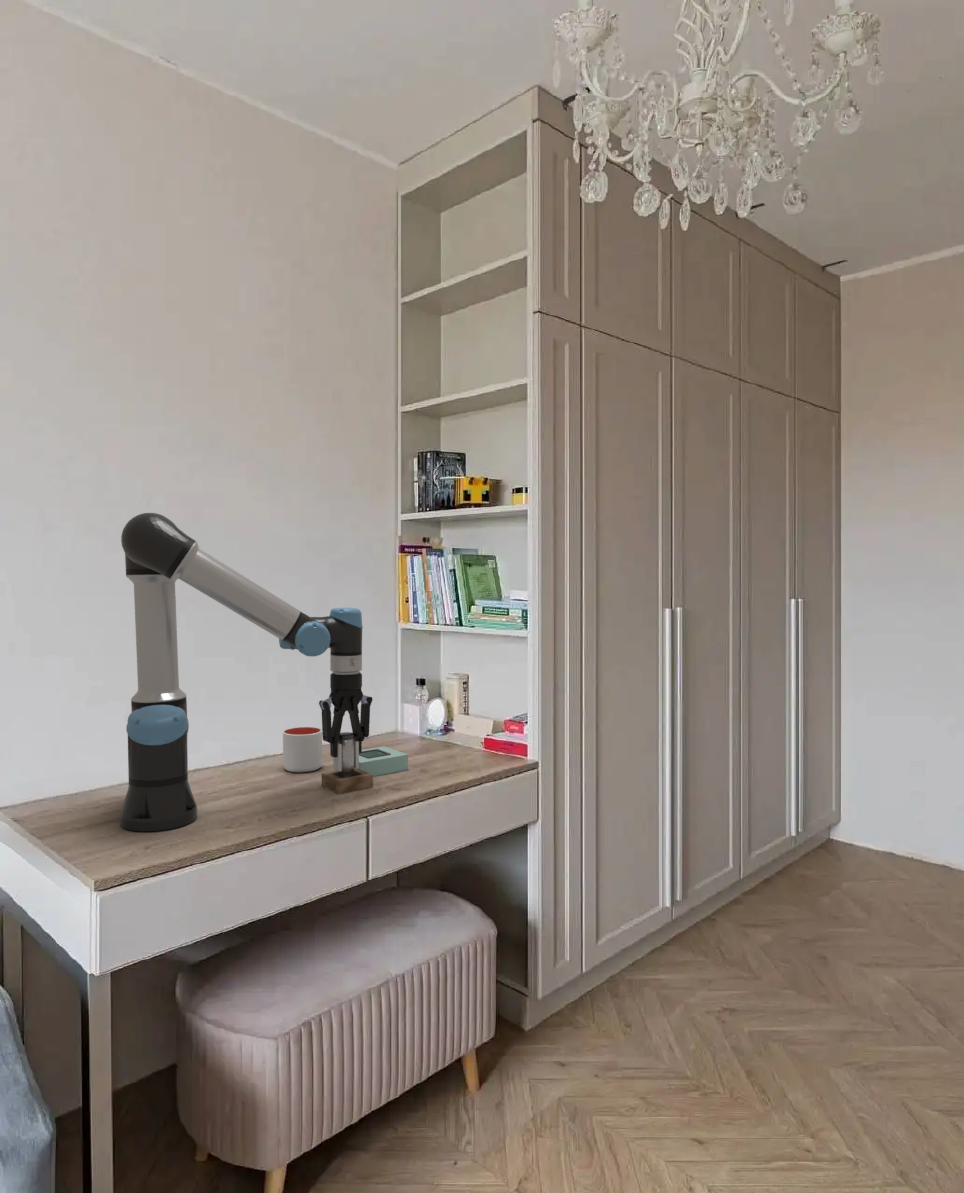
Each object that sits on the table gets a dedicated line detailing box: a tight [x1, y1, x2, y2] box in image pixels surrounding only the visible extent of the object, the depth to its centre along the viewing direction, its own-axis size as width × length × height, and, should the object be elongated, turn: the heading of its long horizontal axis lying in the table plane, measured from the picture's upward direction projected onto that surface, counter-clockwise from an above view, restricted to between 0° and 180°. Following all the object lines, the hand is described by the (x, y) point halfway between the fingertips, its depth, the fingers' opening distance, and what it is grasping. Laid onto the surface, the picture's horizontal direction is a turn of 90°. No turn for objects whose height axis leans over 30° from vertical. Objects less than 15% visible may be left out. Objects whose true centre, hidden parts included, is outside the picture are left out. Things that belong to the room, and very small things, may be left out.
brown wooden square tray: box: [321, 768, 374, 794], centre depth 203 cm, size 9×9×3 cm
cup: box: [282, 726, 323, 773], centre depth 219 cm, size 10×10×10 cm
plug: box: [338, 731, 355, 778], centre depth 202 cm, size 4×4×12 cm
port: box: [357, 746, 409, 777], centre depth 219 cm, size 14×12×4 cm
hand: (346, 768), depth 203 cm, fingers closed on plug, 4 cm apart
